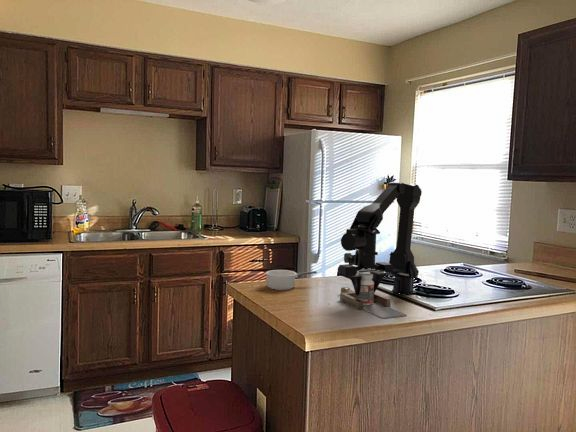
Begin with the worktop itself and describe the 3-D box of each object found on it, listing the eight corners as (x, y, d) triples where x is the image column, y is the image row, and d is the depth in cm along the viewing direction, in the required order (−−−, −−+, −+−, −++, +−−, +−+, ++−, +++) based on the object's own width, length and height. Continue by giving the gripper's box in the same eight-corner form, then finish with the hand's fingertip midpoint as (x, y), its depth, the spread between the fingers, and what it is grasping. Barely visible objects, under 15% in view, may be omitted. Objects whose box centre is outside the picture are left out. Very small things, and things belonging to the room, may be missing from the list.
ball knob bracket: (357, 291, 175) (357, 285, 175) (390, 306, 157) (390, 298, 157) (328, 294, 171) (328, 287, 170) (358, 309, 152) (359, 302, 152)
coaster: (389, 308, 155) (389, 306, 155) (406, 315, 147) (406, 314, 147) (365, 310, 152) (365, 309, 151) (382, 318, 143) (382, 317, 143)
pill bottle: (373, 306, 157) (374, 276, 156) (355, 304, 158) (356, 275, 157) (373, 301, 162) (374, 272, 162) (356, 300, 164) (357, 271, 163)
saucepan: (321, 289, 179) (322, 274, 178) (270, 292, 172) (270, 276, 172) (310, 282, 190) (310, 268, 189) (261, 284, 183) (261, 270, 183)
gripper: (376, 243, 170) (374, 286, 171) (330, 245, 162) (328, 290, 163) (395, 248, 160) (393, 294, 161) (347, 250, 152) (345, 299, 153)
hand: (364, 294), depth 160 cm, fingers closed on pill bottle, 6 cm apart
